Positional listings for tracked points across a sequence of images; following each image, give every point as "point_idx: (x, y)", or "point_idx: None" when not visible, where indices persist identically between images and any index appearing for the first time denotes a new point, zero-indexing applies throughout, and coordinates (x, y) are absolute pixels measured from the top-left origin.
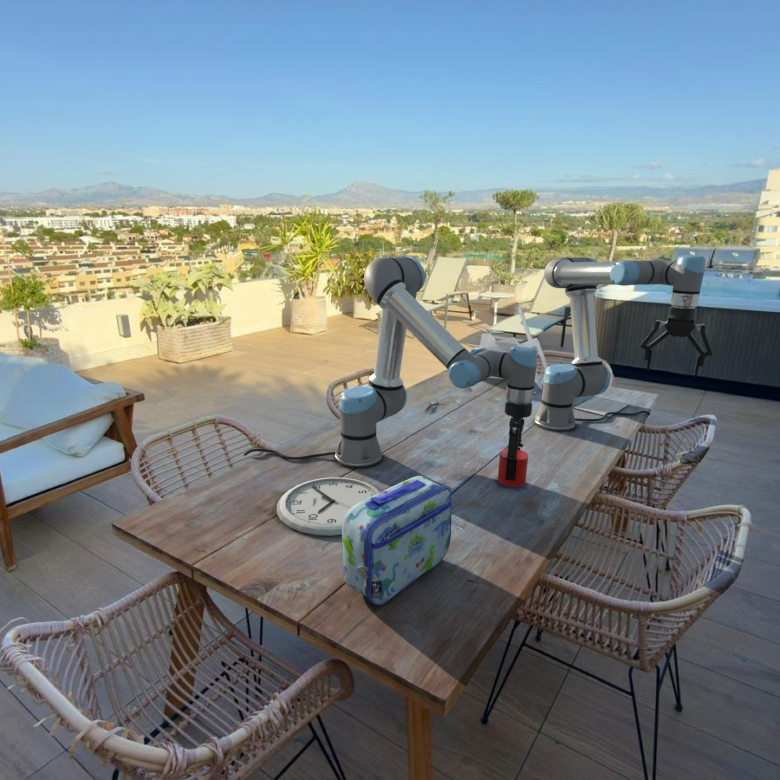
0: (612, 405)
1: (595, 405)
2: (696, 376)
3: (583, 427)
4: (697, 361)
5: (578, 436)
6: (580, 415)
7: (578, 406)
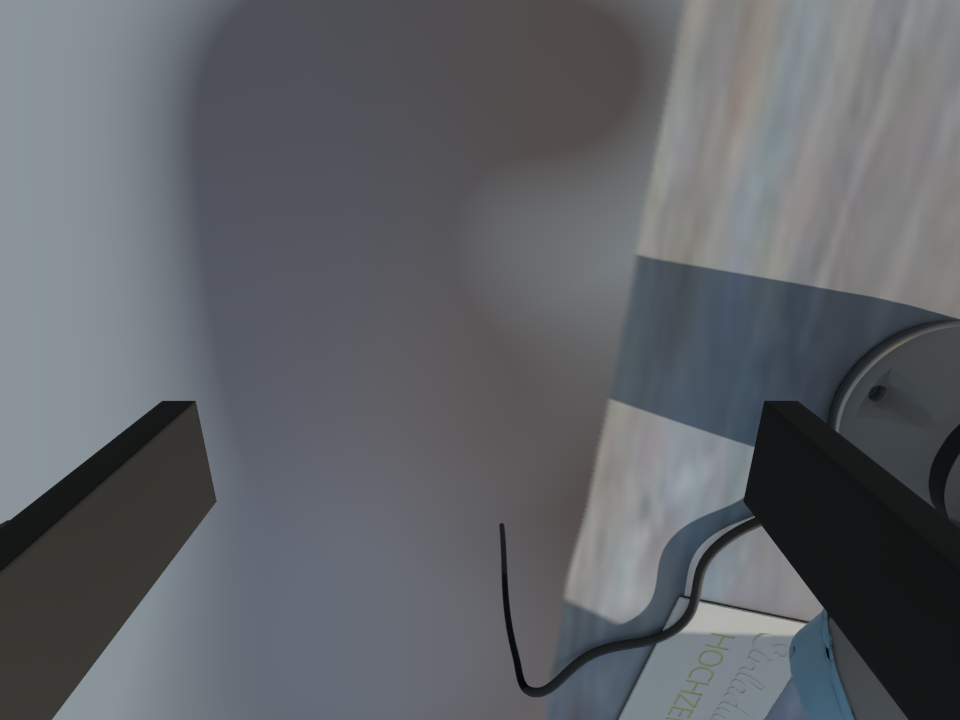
0: (665, 712)
1: (732, 684)
2: (160, 403)
3: None
4: (9, 551)
5: (814, 314)
6: None
7: None
